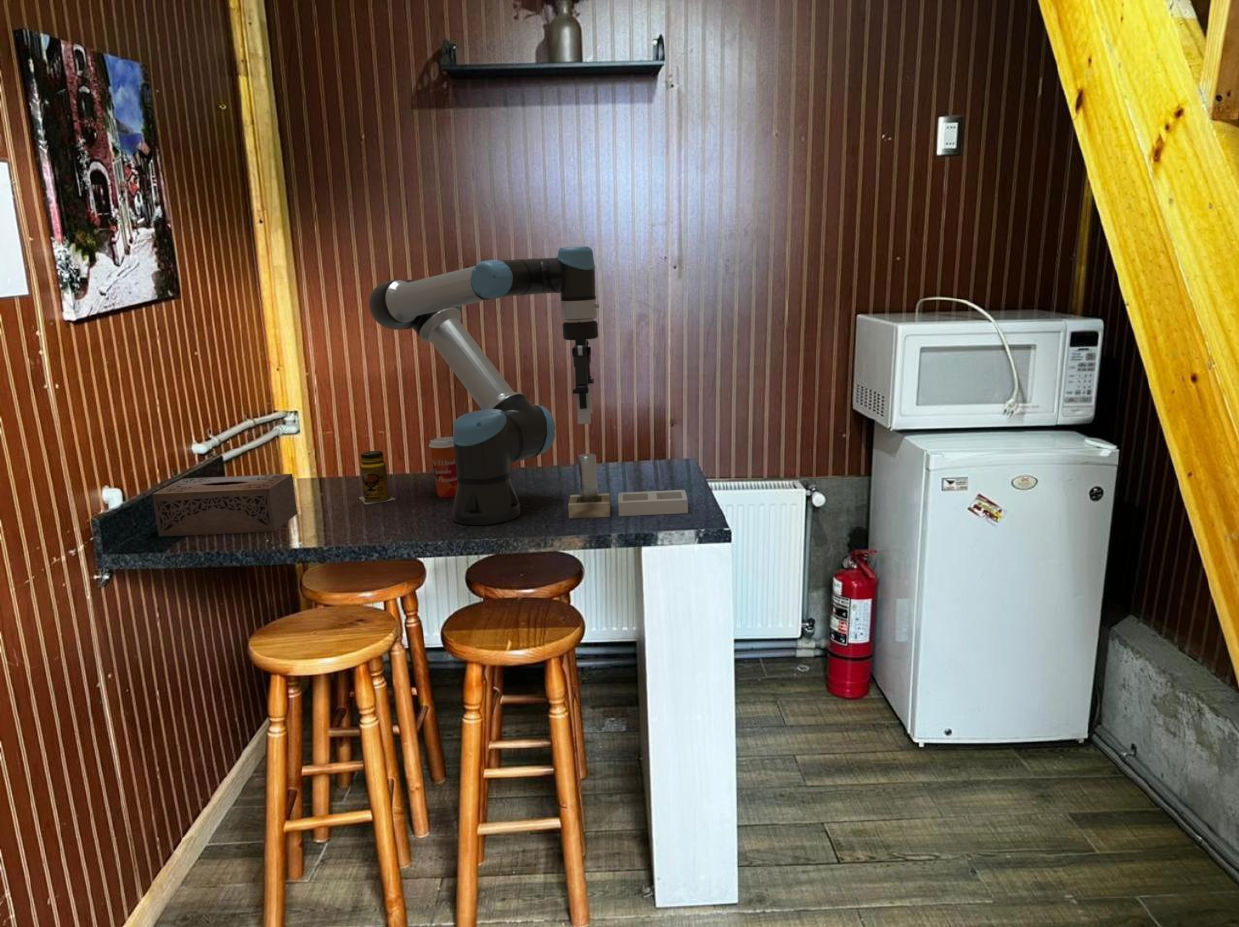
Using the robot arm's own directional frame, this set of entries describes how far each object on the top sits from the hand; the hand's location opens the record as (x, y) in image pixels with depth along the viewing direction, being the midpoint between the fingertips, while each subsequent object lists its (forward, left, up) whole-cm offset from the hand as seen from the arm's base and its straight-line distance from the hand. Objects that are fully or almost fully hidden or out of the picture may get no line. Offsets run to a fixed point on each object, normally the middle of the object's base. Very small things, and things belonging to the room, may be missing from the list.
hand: (585, 418), depth 198 cm
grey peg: (0, 0, -21) cm, 21 cm away
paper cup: (-20, +37, -22) cm, 47 cm away
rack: (+12, -7, -21) cm, 25 cm away
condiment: (-36, +45, -22) cm, 62 cm away
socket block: (0, 0, -21) cm, 21 cm away
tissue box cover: (-70, +44, -22) cm, 86 cm away
